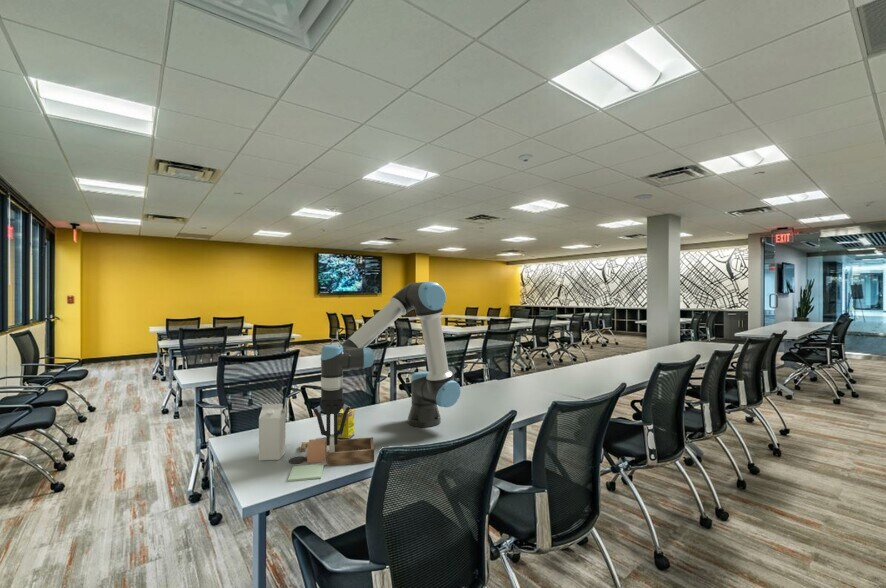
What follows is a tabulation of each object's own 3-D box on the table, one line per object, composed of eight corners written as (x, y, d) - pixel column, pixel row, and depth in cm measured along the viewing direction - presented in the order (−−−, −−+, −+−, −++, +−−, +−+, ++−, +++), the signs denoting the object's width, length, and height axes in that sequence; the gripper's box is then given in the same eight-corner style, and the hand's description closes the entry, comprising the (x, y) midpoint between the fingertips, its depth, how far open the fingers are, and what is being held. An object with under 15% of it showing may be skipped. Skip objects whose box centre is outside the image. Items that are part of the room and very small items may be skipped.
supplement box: (348, 440, 163) (348, 413, 163) (334, 439, 164) (334, 412, 164) (354, 435, 169) (354, 409, 169) (341, 434, 170) (341, 408, 170)
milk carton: (265, 453, 150) (265, 402, 150) (285, 452, 150) (285, 401, 151) (258, 461, 143) (258, 407, 143) (279, 460, 143) (279, 406, 143)
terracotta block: (326, 455, 148) (326, 438, 148) (325, 461, 142) (325, 444, 142) (309, 456, 147) (309, 439, 147) (307, 463, 141) (307, 445, 141)
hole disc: (307, 456, 147) (307, 455, 147) (305, 463, 141) (305, 462, 141) (290, 457, 145) (290, 456, 145) (287, 464, 140) (287, 463, 140)
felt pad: (323, 465, 139) (323, 463, 139) (320, 478, 129) (320, 476, 129) (293, 468, 137) (293, 466, 137) (287, 481, 127) (287, 479, 127)
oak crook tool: (339, 443, 160) (339, 439, 160) (339, 448, 154) (339, 444, 154) (301, 446, 156) (301, 442, 156) (300, 452, 151) (300, 448, 151)
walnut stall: (373, 447, 155) (373, 437, 155) (374, 461, 142) (374, 450, 142) (329, 451, 151) (329, 440, 152) (326, 465, 139) (326, 453, 139)
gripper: (350, 384, 150) (350, 448, 150) (314, 386, 148) (314, 451, 148) (350, 389, 143) (350, 456, 143) (311, 391, 140) (312, 459, 140)
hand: (332, 453), depth 145 cm, fingers closed
